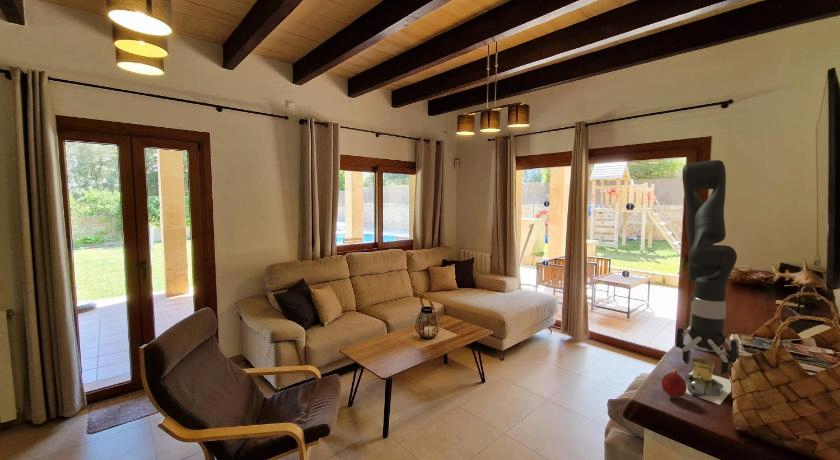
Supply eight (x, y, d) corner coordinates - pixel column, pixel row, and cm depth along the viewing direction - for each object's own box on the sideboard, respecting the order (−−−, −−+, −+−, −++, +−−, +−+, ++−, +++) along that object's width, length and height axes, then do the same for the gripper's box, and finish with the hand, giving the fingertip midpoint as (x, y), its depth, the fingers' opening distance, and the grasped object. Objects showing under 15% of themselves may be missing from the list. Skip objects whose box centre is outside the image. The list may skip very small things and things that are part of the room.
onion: (686, 405, 99) (688, 377, 98) (661, 399, 102) (662, 371, 101) (684, 396, 104) (686, 369, 103) (660, 390, 107) (662, 364, 106)
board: (694, 372, 119) (694, 369, 119) (738, 385, 110) (738, 382, 110) (672, 391, 106) (672, 387, 106) (719, 408, 98) (719, 404, 98)
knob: (694, 381, 110) (695, 356, 109) (714, 388, 106) (716, 362, 106) (688, 386, 107) (690, 360, 106) (709, 394, 103) (711, 366, 102)
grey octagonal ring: (689, 378, 112) (690, 367, 112) (725, 389, 106) (726, 377, 105) (676, 389, 105) (677, 377, 105) (714, 402, 99) (714, 389, 98)
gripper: (743, 317, 101) (739, 373, 103) (683, 305, 113) (680, 356, 114) (737, 323, 97) (733, 381, 98) (674, 310, 108) (671, 363, 109)
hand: (704, 368), depth 106 cm, fingers open, 8 cm apart
